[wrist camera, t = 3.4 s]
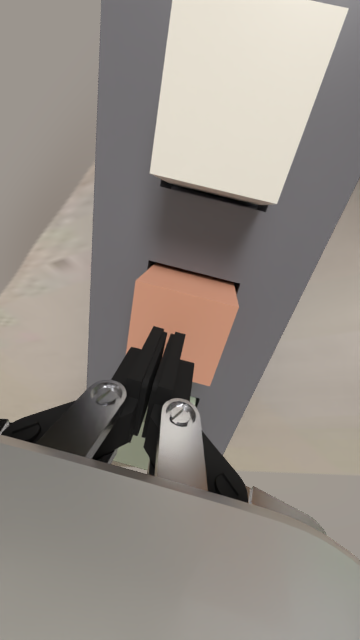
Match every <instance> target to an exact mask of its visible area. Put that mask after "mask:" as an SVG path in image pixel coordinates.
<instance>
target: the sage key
mask: <svg viewBox="0 0 360 640" xmlns="http://www.w3.org/2000/svg"><path fill="white" fill-rule="evenodd" d="M190 402H191V403H192V404H193V405H195V402H196V398H195V397H192V396H190ZM147 409H148V407H147ZM146 414H147V410H146V413H145V416H144V419H143V422H142V425H141V428H140V431H139V434H138V436H135V435H133V437H132V440H131V443H127V444H125V445H123V446H121V447H119V449H118V452H117V454H116V456H115V458H114V459H113V461H116V462H120V463H123V464H127V465H130V466H134V467H137V468H141V469H144V470H148V462H149V456H148V454H147V453H146V451H145V449H144V448H143V446H144V442H145V438H142V432H143V428H144V423H145V418H146Z"/></svg>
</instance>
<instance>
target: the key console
mask: <svg viewBox="0 0 360 640" xmlns="http://www.w3.org/2000/svg"><path fill="white" fill-rule="evenodd" d="M312 1H316V2H321V3H326V4H331V5H336V6H340V7H345V8H349V10H348V12H347V15H346V18H345V20H344V23H343V26H342V29H341V31H340V34H339V37H338V39H337V42H336V45H335V48H334V50H333V53H332V56H331V58H330V61H329V64H328V67H327V69H326V72H325V75H324V77H323V80H322V83H321V86H320V88H319V91H318V94H317V97H316V99H315V102H314V105H313V107H312V110H311V113H310V116H309V118H308V121H307V124H306V126H305V129H304V132H303V135H302V137H301V140H300V143H299V145H298V148H297V151H296V154H295V156H294V159H293V162H292V164H291V167H290V170H289V173H288V175H287V178H286V181H285V184H284V186H283V189H282V192H281V194H280V197H279V200H278V203H277V204H272V205H255V204H250V203H246V202H242V201H238V200H234V199H230V198H226V197H222V196H217V195H213V194H209V193H205V192H201V191H197V190H193V189H189V188H184V187H180V186H176V185H172V184H169V183H167V182H165V181H164V180H162V179H160V178H158V177H156V176H154V175H152V174H150V167H151V159H152V151H153V144H154V136H155V128H156V121H157V113H158V106H159V98H160V90H161V83H162V75H163V68H164V60H165V52H166V45H167V37H168V29H169V22H170V14H171V7H172V0H101V26H100V52H99V78H98V79H99V80H98V106H97V107H98V108H97V133H96V157H95V183H94V210H93V236H92V262H91V289H90V315H89V341H88V368H87V389H88V388H89V387H90V386H91V385H92V384H94V383H96V382H98V381H101V380H111V379H112V377H113V375H114V374H115V372H116V370H117V369H118V367H119V365H120V364H121V362H122V360H123V359H124V357H125V356H126V349H127V342H128V334H129V326H130V319H131V311H132V304H133V296H134V288H135V281H136V280H137V279H138V278H139V277H140V276H141V275H142V274H143V273H145V272H146V271H147V270H148V269H149V268H150V267H151V266H153V265H154V264H155V263H156V262H158V263H161V264H165V265H169V266H173V267H177V268H181V269H185V270H189V271H193V272H197V273H201V274H205V275H209V276H212V277H216V278H220V279H224V280H228V281H232V282H234V286H235V291H236V296H237V300H238V305H239V309H238V311H237V314H236V317H235V319H234V322H233V325H232V328H231V330H230V333H229V336H228V338H227V341H226V344H225V347H224V349H223V352H222V355H221V358H220V360H219V363H218V366H217V368H216V371H215V374H214V377H213V379H212V382H211V385H210V386H206V385H203V384H199V383H195V382H192V388H191V396H192V397H195V398H196V402H195V406H196V408H197V409H198V411H199V414H200V421H201V430H202V431H203V432H204V434H205V435H206V436H207V437H208V438H209V440H210V441H211V442H212V443H213V445H214V446H215V447H216V448H217V449H218V451H219V452H220V453H221V454H222V456H223V454H224V452H225V450H226V448H227V446H228V444H229V441H230V439H231V437H232V435H233V433H234V431H235V429H236V427H237V425H238V423H239V421H240V419H241V417H242V415H243V413H244V411H245V409H246V407H247V405H248V403H249V401H250V399H251V397H252V395H253V393H254V391H255V389H256V387H257V385H258V383H259V381H260V379H261V377H262V375H263V373H264V371H265V368H266V366H267V364H268V362H269V360H270V358H271V356H272V354H273V352H274V350H275V348H276V346H277V344H278V342H279V340H280V338H281V336H282V334H283V332H284V330H285V328H286V326H287V324H288V322H289V320H290V318H291V316H292V314H293V312H294V310H295V308H296V306H297V304H298V302H299V300H300V298H301V296H302V293H303V291H304V289H305V287H306V285H307V283H308V281H309V279H310V277H311V275H312V273H313V271H314V269H315V267H316V265H317V263H318V261H319V259H320V257H321V255H322V253H323V251H324V249H325V247H326V245H327V243H328V241H329V239H330V237H331V235H332V233H333V231H334V229H335V227H336V225H337V223H338V220H339V218H340V216H341V214H342V212H343V210H344V208H345V206H346V204H347V202H348V200H349V198H350V196H351V194H352V192H353V190H354V188H355V186H356V184H357V182H358V180H359V178H360V0H312Z"/></svg>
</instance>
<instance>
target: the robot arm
mask: <svg viewBox="0 0 360 640" xmlns="http://www.w3.org/2000/svg"><path fill="white" fill-rule="evenodd" d="M185 336H186V334H183V333H179V332H175V334H170V337H169V339H168V342H167V345H166V348H165V351H164V346H165V342H166V337H167V332H164V329H163V328H159V327H156V326H153V328H152V330H151V332H150V334H149V336H148V338H147V340H146V342H145V343H144V345H143V347H142V349H139V348H135V347H131V348H130V349H129V351H128V352H127V354H126V356H125V357H124V359H123V360H122V362H121V364H120V365H119V367H118V369H117V370H116V372H115V374H114V375H113V377H112V379H111V380H101V381H98V382H96V383H94V384H92V385H91V386H90V387H89V388H88V389H87V390H86V391H85V392H84V393H83V394H82V395H81V396H80V397H79V398H78V399H77V400H76V401H73V402H70V403H67V404H64V405H60V406H57V407H54V408H51V409H48V410H45V411H42V412H39V413H36V414H33V415H30V416H27V417H24V418H21V419H19V420H17V421H15V422H13V423H10V422H9V420H8V419H0V640H360V560H359V559H358V558H357V557H356V556H355V555H353V554H352V553H351V552H350V551H348V550H347V549H345V548H344V547H343V546H341V545H340V544H338V543H337V542H335V541H334V540H333V539H331V538H330V537H328V536H327V535H326V533H325V531H324V529H323V528H322V527H321V526H320V525H319V524H318V522H317V521H316V520H314V519H313V518H312V517H310V516H309V515H307V514H305V513H304V512H302V511H300V510H298V509H296V508H294V507H292V506H290V505H288V504H286V503H284V502H283V501H280V500H279V499H277V498H275V497H273V496H271V495H269V494H267V493H266V492H264V491H262V490H260V489H258V488H256V487H254V486H253V487H252V489H251V488H249V487H247V486H245V484H244V482H243V481H242V479H241V478H240V476H239V475H238V474H237V473H236V471H235V470H234V469H233V468H232V467H231V465H230V464H229V463H228V462H227V460H226V459H225V458H224V457H223V456H222V454H221V453H220V452H219V451H218V449H217V448H216V447H215V446H214V445H213V443H212V442H211V441H210V440H209V438H208V437H207V436H206V435H205V434H204V432H203V431H202V430H201V421H200V414H199V411H198V409H197V408H196V406H195V405H193V404H192V403H191V402H190V396H191V388H192V380H193V373H194V363H192V362H189V361H185V360H181V359H180V358H181V353H182V349H183V345H184V340H185ZM163 351H164V354H163ZM162 355H163V357H162ZM147 407H148V409H147ZM146 410H147V414H146V418H145V423H144V428H143V432H142V438H145V442H144V446H143V448H144V449H145V451H146V453H147V454H148V456H149V462H148V471H147V474H144V473H140V472H137V471H133V470H129V469H126V468H122V467H119V466H115V465H111V463H112V461H113V459H114V458H115V456H116V454H117V452H118V449H119V447H121V446H123V445H125V444H127V443H131V440H132V437H133V435H135V436H138V434H139V431H140V428H141V425H142V422H143V419H144V416H145V413H146Z"/></svg>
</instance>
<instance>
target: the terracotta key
mask: <svg viewBox="0 0 360 640" xmlns="http://www.w3.org/2000/svg"><path fill="white" fill-rule="evenodd" d="M238 309H239V305H238V300H237V296H236V291H235V286H234V282H232V281H228V280H224V279H220V278H216V277H212V276H209V275H205V274H201V273H197V272H193V271H189V270H185V269H181V268H177V267H173V266H169V265H165V264H161V263H158V262H156V263H155V264H154V265H153V266H151V267H150V268H149V269H148V270H147V271H146V272H145V273H143V274H142V275H141V276H140V277H139V278H138V279H137V280H136V281H135V288H134V296H133V304H132V311H131V319H130V326H129V334H128V342H127V349H126V354H127V352H128V351H129V349H130V348H131V347H135V348H139V349H142V347H143V345H144V343H145V342H146V340H147V338H148V336H149V334H150V332H151V330H152V328H153V326H156V327H159V328H163V329H164V332H167V337H166V342H165V346H164V351H165V348H166V345H167V342H168V339H169V337H170V334H175V332H179V333H183V334H186V336H185V340H184V345H183V349H182V353H181V358H180V359H181V360H185V361H189V362H192V363H194V373H193V380H192V382H195V383H199V384H203V385H206V386H210V385H211V382H212V379H213V377H214V374H215V371H216V368H217V366H218V363H219V360H220V358H221V355H222V352H223V349H224V347H225V344H226V341H227V338H228V336H229V333H230V330H231V328H232V325H233V322H234V319H235V317H236V314H237V311H238ZM164 351H163V354H164ZM162 357H163V355H162Z"/></svg>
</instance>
